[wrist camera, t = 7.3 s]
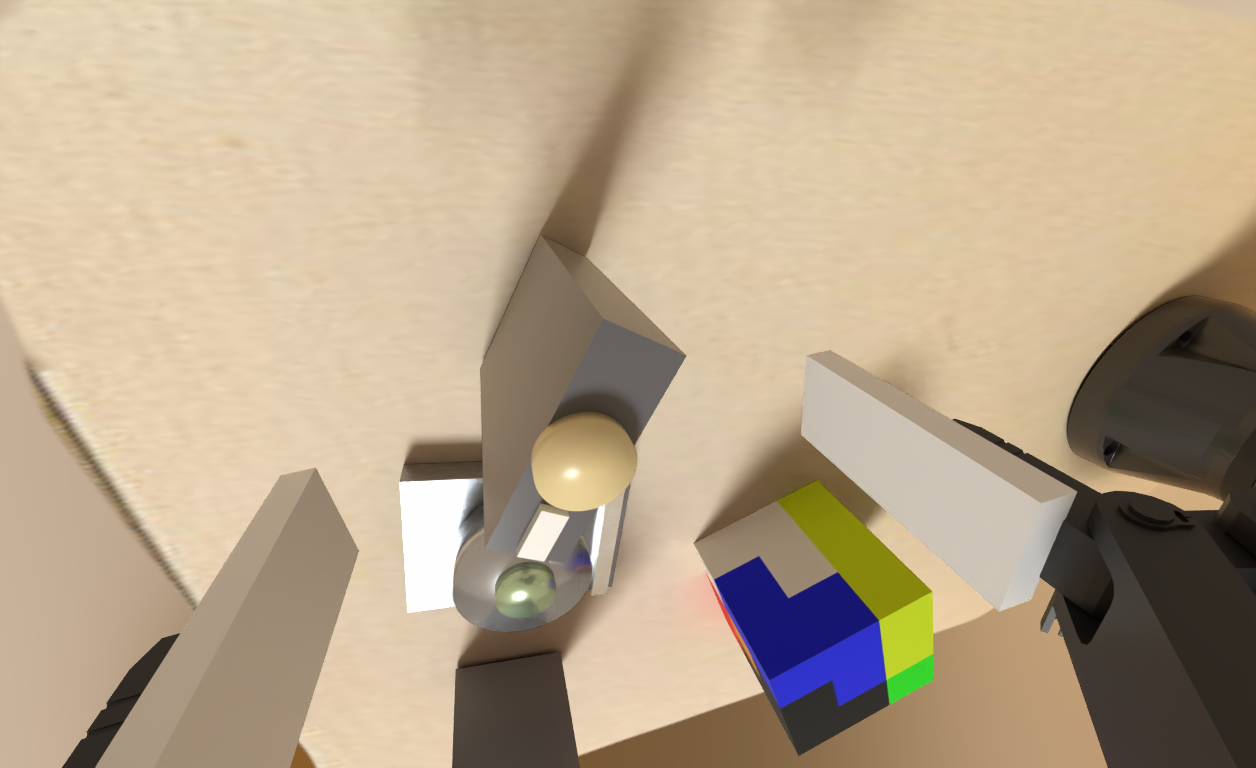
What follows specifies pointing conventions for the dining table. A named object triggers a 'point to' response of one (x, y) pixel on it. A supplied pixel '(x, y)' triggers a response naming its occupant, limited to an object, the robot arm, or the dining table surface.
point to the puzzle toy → (820, 612)
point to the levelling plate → (439, 523)
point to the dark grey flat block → (564, 403)
